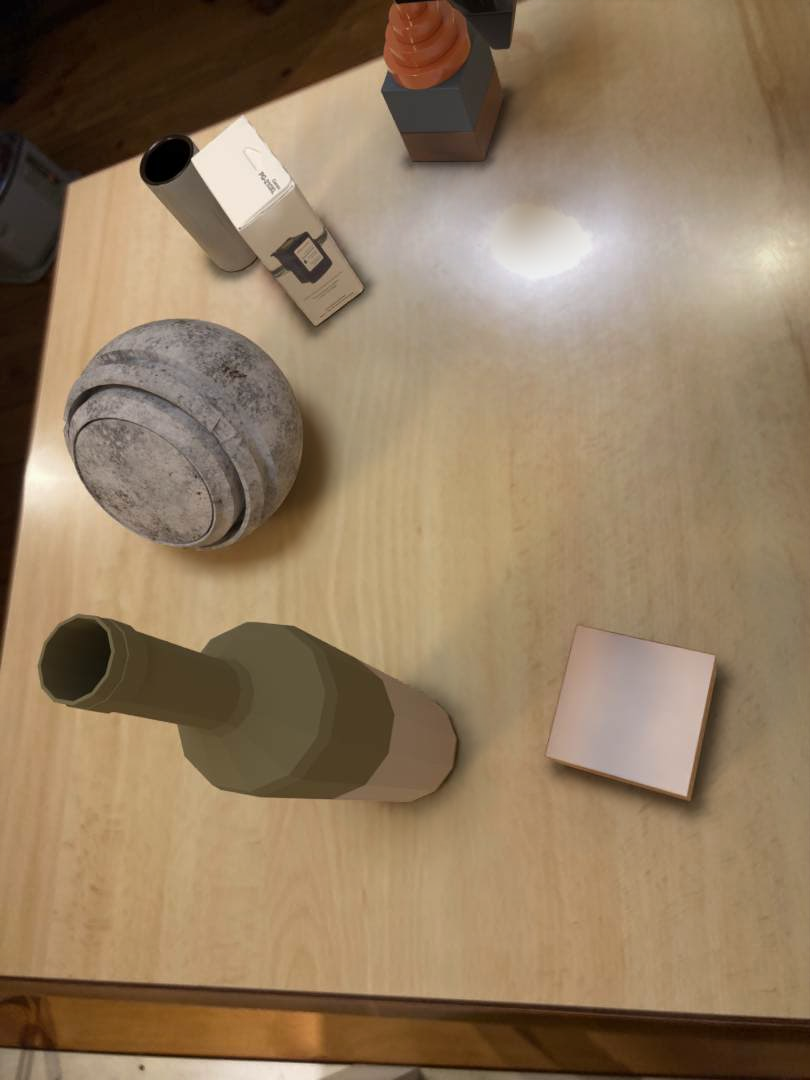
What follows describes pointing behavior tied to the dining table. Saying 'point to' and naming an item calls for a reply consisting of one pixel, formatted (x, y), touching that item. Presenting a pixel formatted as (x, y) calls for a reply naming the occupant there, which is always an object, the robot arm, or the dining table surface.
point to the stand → (633, 710)
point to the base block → (459, 133)
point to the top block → (444, 95)
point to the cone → (425, 43)
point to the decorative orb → (185, 433)
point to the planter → (193, 201)
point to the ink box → (276, 220)
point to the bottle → (260, 708)
